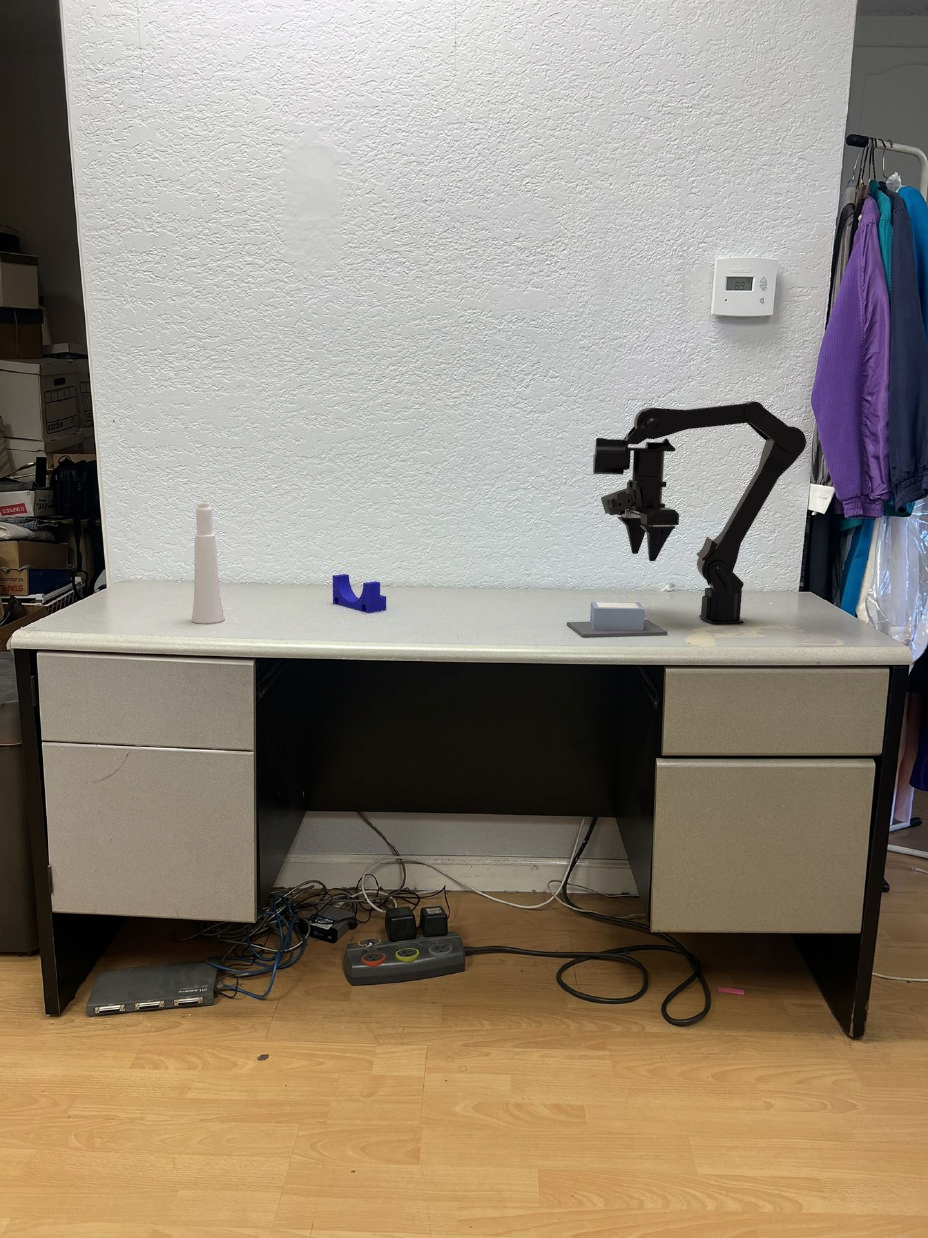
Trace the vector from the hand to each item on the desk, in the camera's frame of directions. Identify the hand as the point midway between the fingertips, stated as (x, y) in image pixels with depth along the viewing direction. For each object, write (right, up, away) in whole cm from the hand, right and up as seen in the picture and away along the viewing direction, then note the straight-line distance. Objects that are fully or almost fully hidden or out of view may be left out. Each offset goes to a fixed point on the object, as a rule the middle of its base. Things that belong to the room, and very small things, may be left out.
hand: (643, 557), depth 191 cm
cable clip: (-55, -10, +10) cm, 57 cm away
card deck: (-6, -13, -8) cm, 17 cm away
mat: (-6, -14, -8) cm, 17 cm away
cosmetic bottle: (-82, -12, -5) cm, 83 cm away
